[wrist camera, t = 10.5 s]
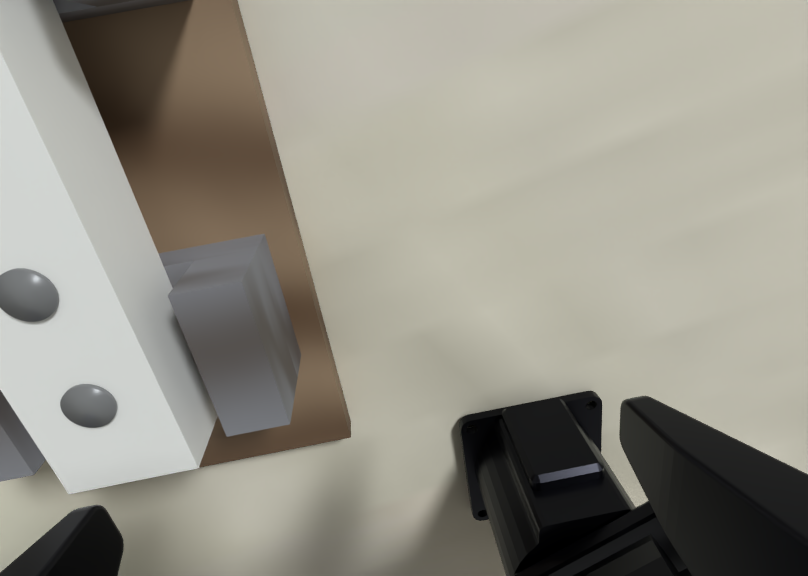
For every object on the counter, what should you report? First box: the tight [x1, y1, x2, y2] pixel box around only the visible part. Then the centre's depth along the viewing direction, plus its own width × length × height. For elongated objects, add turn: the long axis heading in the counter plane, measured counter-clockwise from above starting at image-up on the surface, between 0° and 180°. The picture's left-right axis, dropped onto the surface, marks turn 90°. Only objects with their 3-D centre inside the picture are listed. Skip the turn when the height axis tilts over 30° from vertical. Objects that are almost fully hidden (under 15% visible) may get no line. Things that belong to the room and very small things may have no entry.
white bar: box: [0, 0, 218, 494], centre depth 12 cm, size 18×4×3 cm, turn 9°
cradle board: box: [0, 0, 351, 481], centre depth 14 cm, size 26×12×5 cm, turn 9°
